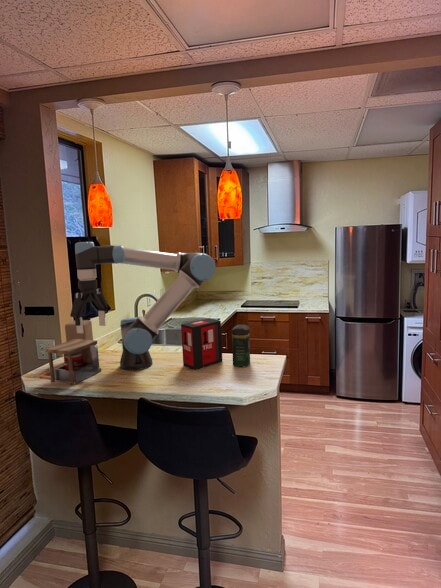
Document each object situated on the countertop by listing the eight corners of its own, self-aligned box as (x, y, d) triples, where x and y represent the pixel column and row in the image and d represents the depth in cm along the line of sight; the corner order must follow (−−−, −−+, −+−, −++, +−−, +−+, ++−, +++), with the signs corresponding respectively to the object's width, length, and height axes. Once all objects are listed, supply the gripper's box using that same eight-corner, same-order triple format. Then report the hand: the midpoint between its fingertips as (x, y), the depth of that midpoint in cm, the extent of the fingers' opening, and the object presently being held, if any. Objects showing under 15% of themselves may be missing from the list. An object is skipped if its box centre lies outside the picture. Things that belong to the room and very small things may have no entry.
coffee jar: (248, 368, 179) (247, 328, 176) (231, 367, 181) (229, 328, 178) (251, 361, 188) (250, 323, 185) (235, 361, 190) (233, 323, 187)
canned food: (70, 374, 181) (67, 351, 179) (87, 374, 180) (85, 350, 179) (62, 380, 173) (60, 356, 171) (81, 380, 173) (78, 355, 171)
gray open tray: (54, 380, 174) (51, 346, 171) (74, 371, 184) (71, 339, 182) (90, 385, 166) (87, 350, 163) (109, 375, 176) (106, 342, 174)
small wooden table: (49, 382, 172) (45, 348, 169) (77, 369, 187) (74, 338, 185) (72, 386, 166) (69, 351, 164) (99, 372, 182) (97, 340, 180)
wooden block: (95, 357, 205) (92, 319, 202) (87, 363, 195) (83, 324, 192) (76, 357, 206) (73, 320, 203) (67, 364, 196) (63, 324, 193)
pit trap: (74, 371, 185) (73, 369, 185) (55, 379, 175) (55, 378, 175) (57, 369, 189) (57, 367, 188) (38, 377, 179) (38, 375, 179)
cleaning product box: (210, 357, 197) (208, 318, 194) (222, 361, 190) (220, 320, 187) (183, 366, 186) (181, 324, 183) (195, 370, 179) (192, 327, 176)
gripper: (100, 275, 178) (104, 322, 181) (57, 282, 155) (62, 335, 159) (113, 276, 175) (117, 323, 178) (72, 283, 153) (77, 337, 156)
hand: (91, 329), depth 168 cm, fingers open, 13 cm apart
